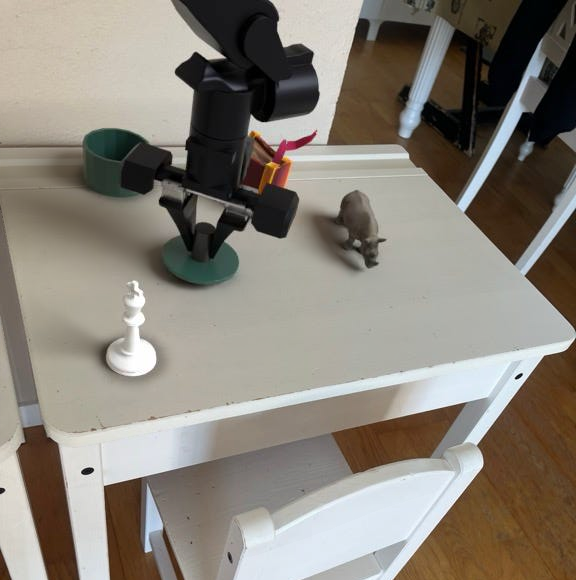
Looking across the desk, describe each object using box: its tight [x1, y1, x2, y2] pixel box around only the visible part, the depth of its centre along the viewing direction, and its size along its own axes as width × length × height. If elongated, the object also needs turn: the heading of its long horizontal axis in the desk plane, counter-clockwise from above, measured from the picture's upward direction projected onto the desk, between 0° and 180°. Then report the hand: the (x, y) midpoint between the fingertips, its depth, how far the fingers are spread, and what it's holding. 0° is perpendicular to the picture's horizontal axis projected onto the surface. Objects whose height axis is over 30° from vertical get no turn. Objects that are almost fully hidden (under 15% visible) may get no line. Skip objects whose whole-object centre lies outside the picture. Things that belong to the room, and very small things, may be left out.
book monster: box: [239, 129, 319, 215], centre depth 84 cm, size 11×9×12 cm
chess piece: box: [105, 279, 157, 377], centre depth 59 cm, size 5×5×10 cm
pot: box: [82, 127, 151, 198], centre depth 81 cm, size 8×8×5 cm
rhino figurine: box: [334, 189, 388, 269], centre depth 82 cm, size 4×14×6 cm, turn 11°
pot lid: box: [161, 221, 240, 286], centre depth 72 cm, size 9×9×5 cm
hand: (201, 253), depth 73 cm, fingers closed on pot lid, 2 cm apart
